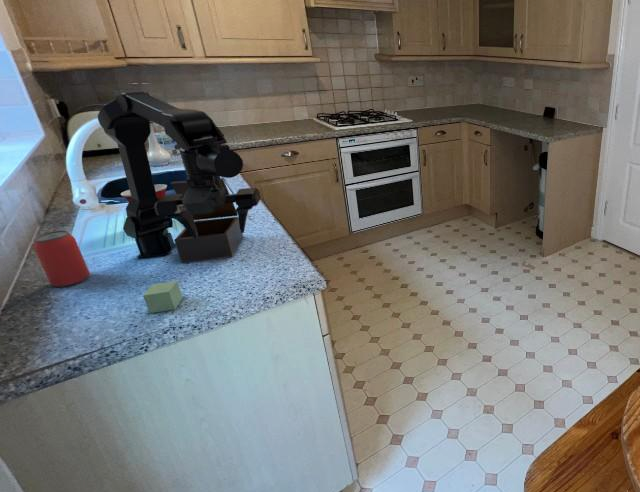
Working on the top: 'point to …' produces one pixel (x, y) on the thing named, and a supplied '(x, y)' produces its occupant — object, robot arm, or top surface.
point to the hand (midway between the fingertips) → (220, 235)
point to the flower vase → (156, 150)
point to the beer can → (61, 258)
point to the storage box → (210, 240)
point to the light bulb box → (167, 143)
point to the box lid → (220, 210)
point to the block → (163, 297)
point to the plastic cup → (159, 189)
